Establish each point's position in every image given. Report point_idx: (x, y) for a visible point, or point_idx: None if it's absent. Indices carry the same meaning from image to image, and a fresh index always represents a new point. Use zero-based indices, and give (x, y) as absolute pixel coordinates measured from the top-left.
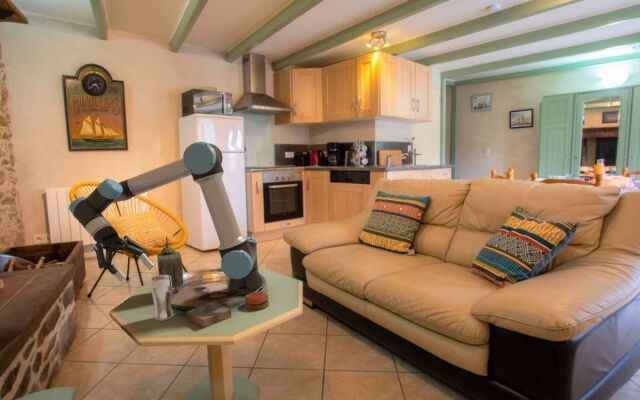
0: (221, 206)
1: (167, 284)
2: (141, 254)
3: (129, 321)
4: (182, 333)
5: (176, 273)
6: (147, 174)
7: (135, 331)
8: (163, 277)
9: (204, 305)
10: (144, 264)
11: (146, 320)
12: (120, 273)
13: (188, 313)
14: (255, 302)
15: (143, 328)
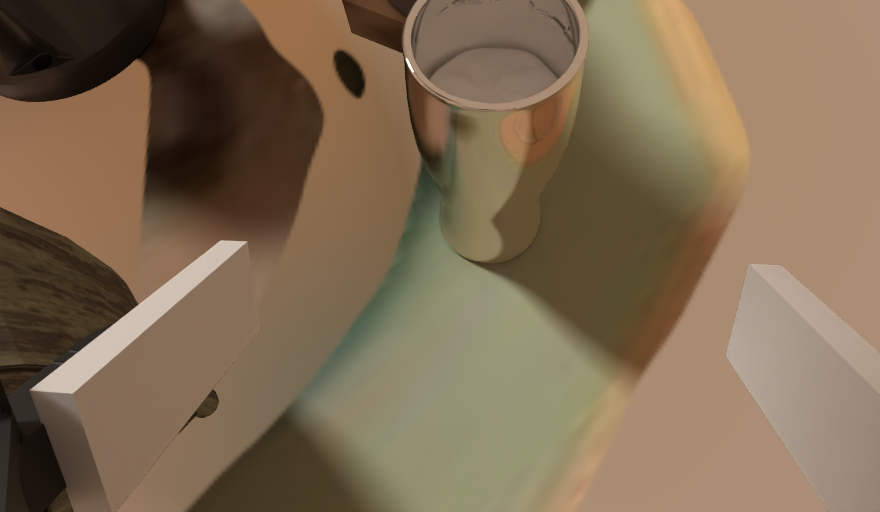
0: None
1: (516, 7)
2: (81, 420)
3: (591, 393)
4: (627, 28)
5: (73, 247)
6: None
7: (689, 254)
8: (414, 84)
9: (407, 7)
10: (209, 388)
11: (551, 292)
12: (819, 307)
13: None
14: None
15: (644, 236)
